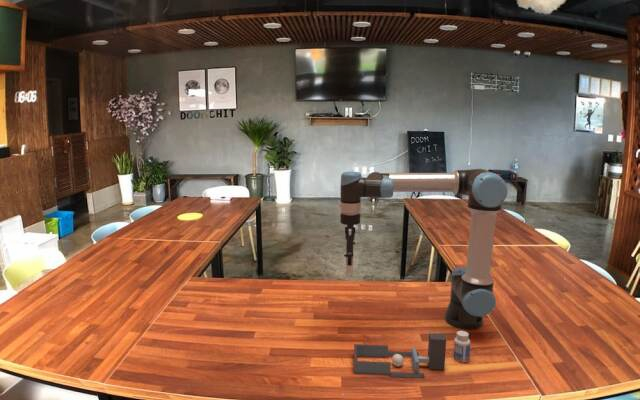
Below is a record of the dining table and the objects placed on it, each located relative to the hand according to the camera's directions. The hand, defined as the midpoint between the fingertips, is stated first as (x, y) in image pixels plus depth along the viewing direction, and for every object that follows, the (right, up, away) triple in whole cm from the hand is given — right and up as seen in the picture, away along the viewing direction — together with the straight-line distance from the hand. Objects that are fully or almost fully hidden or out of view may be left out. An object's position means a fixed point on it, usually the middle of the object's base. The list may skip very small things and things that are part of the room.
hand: (349, 266), depth 170 cm
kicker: (+26, -31, -18) cm, 44 cm away
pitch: (+12, -31, -17) cm, 38 cm away
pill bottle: (+39, -31, -13) cm, 51 cm away
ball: (+15, -29, -18) cm, 38 cm away
